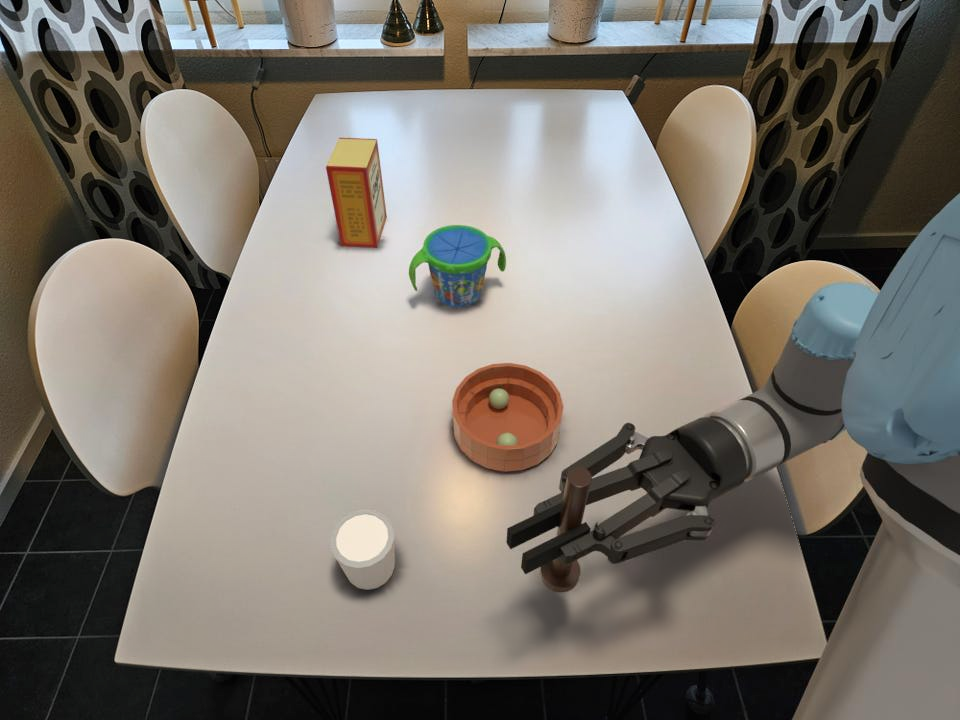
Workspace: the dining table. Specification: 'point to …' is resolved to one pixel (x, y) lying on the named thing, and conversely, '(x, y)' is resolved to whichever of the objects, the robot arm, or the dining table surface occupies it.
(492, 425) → the bowl
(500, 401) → the bead
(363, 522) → the white cup
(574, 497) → the stick
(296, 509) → the dining table surface
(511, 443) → the bead
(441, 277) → the snack cup
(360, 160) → the baking soda box
